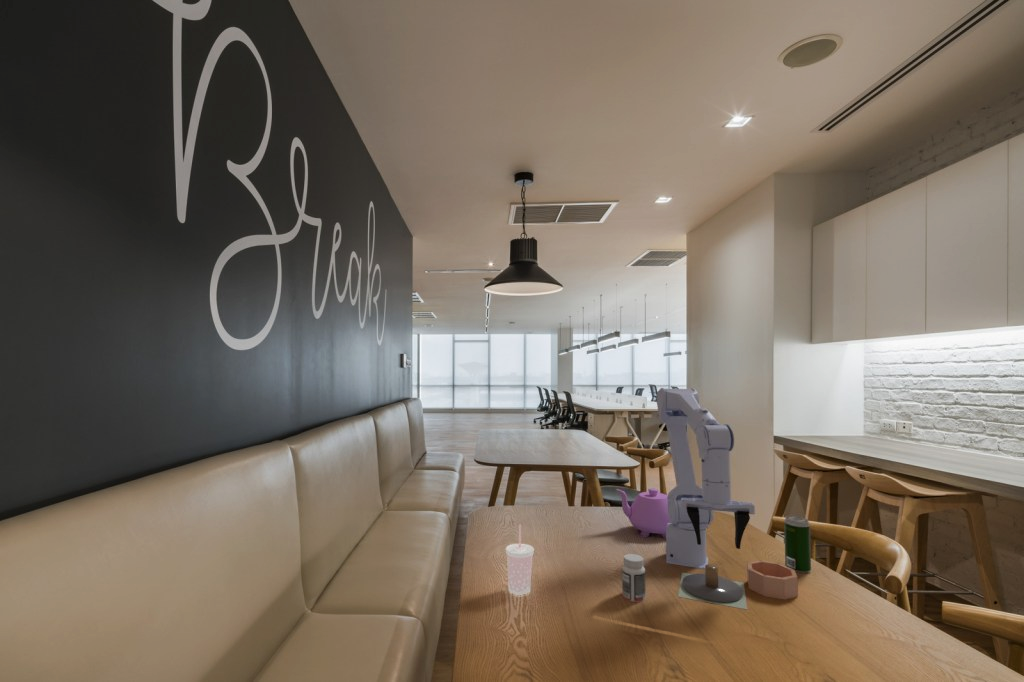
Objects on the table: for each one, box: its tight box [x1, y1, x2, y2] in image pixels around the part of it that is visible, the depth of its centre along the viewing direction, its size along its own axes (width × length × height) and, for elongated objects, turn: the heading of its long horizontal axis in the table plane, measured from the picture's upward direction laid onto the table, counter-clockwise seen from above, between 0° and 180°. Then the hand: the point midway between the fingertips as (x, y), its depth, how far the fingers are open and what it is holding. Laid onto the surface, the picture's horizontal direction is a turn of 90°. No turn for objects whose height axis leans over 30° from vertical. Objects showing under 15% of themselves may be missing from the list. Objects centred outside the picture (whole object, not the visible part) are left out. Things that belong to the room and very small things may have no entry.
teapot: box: [615, 487, 672, 538], centre depth 141 cm, size 20×14×12 cm
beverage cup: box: [505, 524, 535, 595], centre depth 103 cm, size 6×6×14 cm
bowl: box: [746, 560, 799, 600], centre depth 104 cm, size 9×9×4 cm
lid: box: [682, 563, 743, 603], centre depth 103 cm, size 12×12×5 cm
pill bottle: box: [621, 553, 647, 603], centre depth 100 cm, size 5×5×8 cm
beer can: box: [783, 515, 812, 574], centre depth 115 cm, size 5×5×12 cm
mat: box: [677, 572, 748, 610], centre depth 103 cm, size 13×13×1 cm
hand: (718, 545), depth 102 cm, fingers open, 7 cm apart
